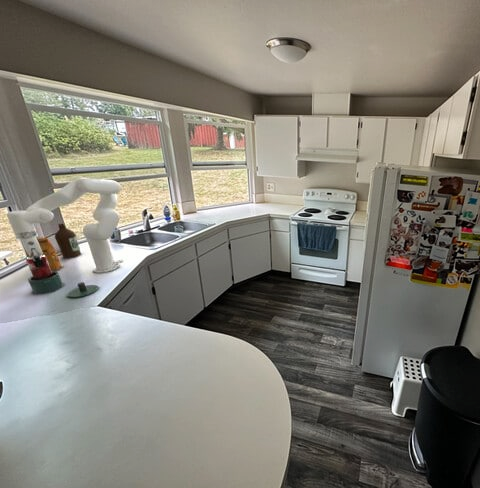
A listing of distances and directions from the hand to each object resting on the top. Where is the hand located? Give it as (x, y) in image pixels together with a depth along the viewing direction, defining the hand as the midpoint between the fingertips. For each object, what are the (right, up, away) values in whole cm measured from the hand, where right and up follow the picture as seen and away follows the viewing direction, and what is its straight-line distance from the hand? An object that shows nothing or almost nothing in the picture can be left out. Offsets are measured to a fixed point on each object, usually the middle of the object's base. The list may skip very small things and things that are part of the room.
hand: (38, 264), depth 137 cm
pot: (0, -14, +5) cm, 15 cm away
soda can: (0, -7, +3) cm, 7 cm away
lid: (+22, -15, +3) cm, 27 cm away
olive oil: (-30, +2, +48) cm, 57 cm away
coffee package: (-23, -6, +26) cm, 36 cm away
